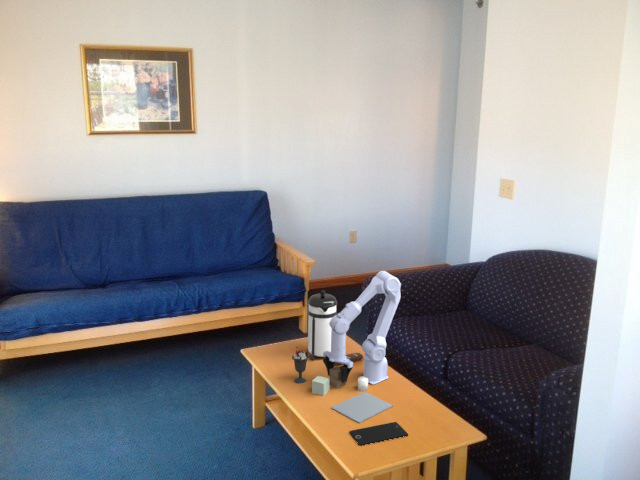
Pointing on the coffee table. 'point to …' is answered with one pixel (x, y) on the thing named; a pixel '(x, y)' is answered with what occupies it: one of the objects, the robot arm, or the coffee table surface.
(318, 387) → the sage block
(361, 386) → the cream rounded cylinder
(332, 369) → the walnut block
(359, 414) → the slate board
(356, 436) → the cell phone
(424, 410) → the coffee table surface
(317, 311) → the coffee press
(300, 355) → the sundae
